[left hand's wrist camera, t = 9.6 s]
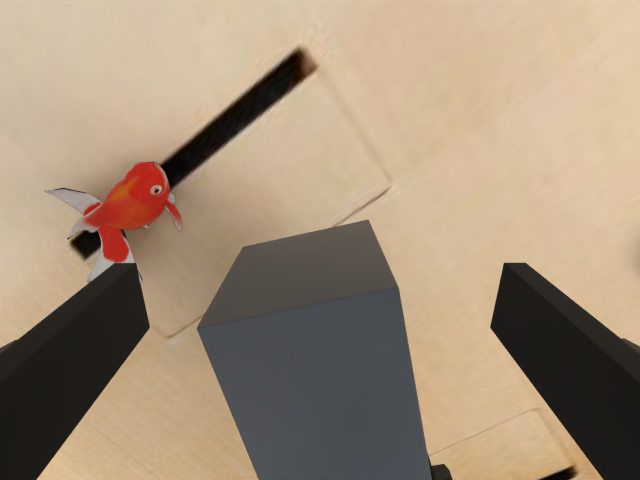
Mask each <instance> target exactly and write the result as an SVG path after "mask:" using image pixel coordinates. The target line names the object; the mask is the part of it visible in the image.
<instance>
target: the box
mask: <svg viewBox="0 0 640 480" xmlns="http://www.w3.org/2000/svg"><path fill="white" fill-rule="evenodd" d="M197 330H198V333H199V335H200V338H201V340H202V342H203V345H204V347H205V350H206V352H207V355H208V357H209V360H210V362H211V364H212V367H213V369H214V372H215V374H216V377H217V379H218V381H219V384H220V386H221V389H222V391H223V394H224V396H225V399H226V401H227V403H228V406H229V408H230V411H231V413H232V416H233V418H234V420H235V423H236V425H237V428H238V430H239V433H240V435H241V438H242V440H243V442H244V445H245V447H246V450H247V452H248V455H249V457H250V459H251V462H252V464H253V467H254V469H255V472H256V474H257V477H258V479H259V480H432V478H431V472H430V466H429V461H428V455H427V449H426V443H425V437H424V432H423V426H422V420H421V414H420V408H419V403H418V397H417V391H416V385H415V379H414V374H413V368H412V362H411V356H410V350H409V345H408V339H407V333H406V327H405V321H404V316H403V310H402V304H401V298H400V292H399V288H398V285H397V283H396V281H395V278H394V276H393V274H392V272H391V269H390V267H389V265H388V263H387V260H386V258H385V256H384V254H383V251H382V249H381V247H380V245H379V242H378V240H377V238H376V236H375V233H374V231H373V229H372V227H371V224H370V222H369V220H365V221H360V222H356V223H351V224H346V225H342V226H337V227H333V228H328V229H323V230H319V231H314V232H310V233H305V234H301V235H296V236H291V237H287V238H282V239H278V240H273V241H269V242H264V243H259V244H255V245H250V246H246V247H243V248H242V250H241V251H240V253H239V255H238V257H237V258H236V260H235V262H234V264H233V265H232V267H231V269H230V271H229V272H228V274H227V276H226V278H225V279H224V281H223V283H222V285H221V286H220V288H219V290H218V292H217V294H216V295H215V297H214V299H213V301H212V302H211V304H210V306H209V308H208V309H207V311H206V313H205V315H204V316H203V318H202V320H201V322H200V323H199V325H198V327H197Z"/></svg>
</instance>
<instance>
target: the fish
mask: <svg viewBox="0 0 640 480" xmlns="http://www.w3.org/2000/svg"><path fill="white" fill-rule="evenodd" d="M155 163H156V162H140V163H137V164H136V165H135V166H134V167H133V168H132V170H131V171H129V172H128V174H127V175H126V178H125V179H124V180H123V181H121V182H120V183H118V184H117V185H116V186H115V187H114V188H113V189H112V190H111V192H110V193H109V195H108V197H107V199H106V201H104V202H103V203H102V202H101V201H100V200H98V199H97V198H95V197H93V196H91V195H89V194H87V193H85V192H80V191H75V190H71V189H66V188H60V189H54V190H48V191H44V192H47V193H49V194H51V195H53V196H55V197H57V198H59V199H60V200H62V201H64V202H65V203H67V204H69V205H70V206H72V207H73V208H75V209H76V210H77V211H79V212H80V213H81V214H83V215H84V216H83V217H81V218H80V219H79V220H78V222H77V223H76V224H75V225H74V227H73V229H72V231H71V232H70V234H69V236H68V238H67V239H70V238H71V237H72V236H74V235H75V234H76V233H78V232H80V231H83V230H85V231H88V232H91V233H94V232H96V231H97V230H98V232H99V235H100V238H101V250H100V254H99V256H98V258H97V260H96V262H95V264H94V266H93V268H92V270H91V272H90V275H89V277H88V279H87V281H86V282H91V281H92V280H94V279H95V278H96V277H97V276H99V275H100V274H101V273H102V272H104V271H105V270H106V269H107V268H109V267H110V266H111V265H112V264H114V263H135V261H134V258H133V255H132V252H131V249H130V247H129V244H128V241H127V238H126V235H125V232H124V230H123V229H137V228H140V227H143V228H146V229H148V226H147V225H148V224H150V223H152V222H153V221H154V220H155V219H157V218H158V217H159V216H160V215H161V214H162V212H163V211H164V209H166V210H167V211H168V212H169V213H170V214H171V216H172V218H173V221H174V224H175V227H176V228H177V229H178V231H181V229H182V221H181V217H180V213H179V212H178V210H177V209H176V207H175V206H174V205H173V204H172V203H174V202H175V197H174V194H173V193H170V186H169V183H168V179H167V177H166V174H165V172H164V171H163V169H162V168H161V167H160V166H159V165H157V164H155ZM138 275H139V279H140V283H142V277H141V275H140V273H139V272H138Z"/></svg>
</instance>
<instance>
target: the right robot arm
mask: <svg viewBox="0 0 640 480" xmlns="http://www.w3.org/2000/svg"><path fill="white" fill-rule="evenodd" d="M427 455H428V453H427ZM428 461H429V466H430V472H431V478H432V480H453V479H452V477H451V474H450V471H449V469H448V468H447V467H446V466H445V465H444V464H441V465H435V466H431V463H430V460H429V456H428Z"/></svg>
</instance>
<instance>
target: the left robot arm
mask: <svg viewBox="0 0 640 480" xmlns="http://www.w3.org/2000/svg"><path fill="white" fill-rule="evenodd" d="M149 328H150V326H149V322H148V317H147V312H146V308H145V303H144V298H143V293H142V289H141V284H140V279H139V275H138V270H137V265H136V263H114V264H112V265H111V266H110V267H109V268H107V269H106V270H105V271H104V272H102V273H101V274H100V275H99V276H97V277H96V278H95V279H94V280H92V281H91V282H90V283H89V284H87V285H86V286H85V287H84V288H82V289H81V290H80V291H78V292H77V293H76V294H75V295H73V296H72V297H71V298H70V299H68V300H67V301H66V302H65V303H63V304H62V305H61V306H60V307H58V308H57V309H56V310H55V311H53V312H52V313H51V314H50V315H48V316H47V317H46V318H45V319H43V320H42V321H41V322H40V323H38V324H37V325H36V326H35V327H33V328H32V329H31V330H30V331H28V332H27V333H26V334H25V335H23V336H22V337H21V338H19V339H18V340H15V341H13V342H11V343H9V344H7V345H5V346H3V347H1V348H0V480H37V478H38V477H39V476H40V474H41V473H42V471H43V470H44V469H45V467H46V466H47V465H48V463H49V462H50V461H51V459H52V458H53V457H54V455H55V454H56V453H57V451H58V450H59V449H60V447H61V446H62V445H63V443H64V442H65V441H66V439H67V438H68V437H69V435H70V434H71V433H72V431H73V430H74V429H75V427H76V426H77V425H78V423H79V422H80V420H81V419H82V418H83V416H84V415H85V414H86V412H87V411H88V410H89V408H90V407H91V406H92V404H93V403H94V402H95V400H96V399H97V398H98V396H99V395H100V394H101V392H102V391H103V390H104V388H105V387H106V386H107V384H108V383H109V382H110V380H111V379H112V378H113V376H114V375H115V374H116V372H117V371H118V369H119V368H120V367H121V365H122V364H123V363H124V361H125V360H126V359H127V357H128V356H129V355H130V353H131V352H132V351H133V349H134V348H135V347H136V345H137V344H138V343H139V341H140V340H141V339H142V337H143V336H144V335H145V333H146V332H147V331H148V329H149ZM490 328H491V329H492V331H493V332H494V333H495V335H496V336H497V337H498V339H499V340H500V341H501V343H502V344H503V345H504V347H505V348H506V349H507V351H508V352H509V353H510V355H511V356H512V357H513V359H514V360H515V361H516V363H517V364H518V365H519V367H520V368H521V369H522V371H523V372H524V374H525V375H526V376H527V378H528V379H529V380H530V382H531V383H532V384H533V386H534V387H535V388H536V390H537V391H538V392H539V394H540V395H541V396H542V398H543V399H544V400H545V402H546V403H547V404H548V406H549V407H550V408H551V410H552V411H553V412H554V414H555V415H556V416H557V418H558V419H559V420H560V422H561V423H562V425H563V426H564V427H565V429H566V430H567V431H568V433H569V434H570V435H571V437H572V438H573V439H574V441H575V442H576V443H577V445H578V446H579V447H580V449H581V450H582V451H583V453H584V454H585V455H586V457H587V458H588V459H589V461H590V462H591V463H592V465H593V466H594V467H595V469H596V470H597V471H598V473H599V474H600V476H601V477H602V478H603V480H640V346H638V345H636V344H634V343H632V342H630V341H628V340H626V339H621V338H619V337H618V336H617V335H615V334H614V333H613V332H612V331H610V330H609V329H608V328H607V327H605V326H604V325H603V324H602V323H600V322H599V321H598V320H597V319H595V318H594V317H593V316H592V315H590V314H589V313H588V312H587V311H585V310H584V309H583V308H582V307H580V306H579V305H578V304H577V303H575V302H574V301H573V300H572V299H570V298H569V297H568V296H567V295H565V294H564V293H563V292H562V291H560V290H559V289H558V288H556V287H555V286H554V285H553V284H551V283H550V282H549V281H548V280H546V279H545V278H544V277H543V276H541V275H540V274H539V273H538V272H536V271H535V270H534V269H533V268H531V267H530V266H529V265H528V264H526V263H504V265H503V270H502V275H501V279H500V284H499V289H498V293H497V298H496V303H495V308H494V312H493V317H492V322H491V326H490Z"/></svg>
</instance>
